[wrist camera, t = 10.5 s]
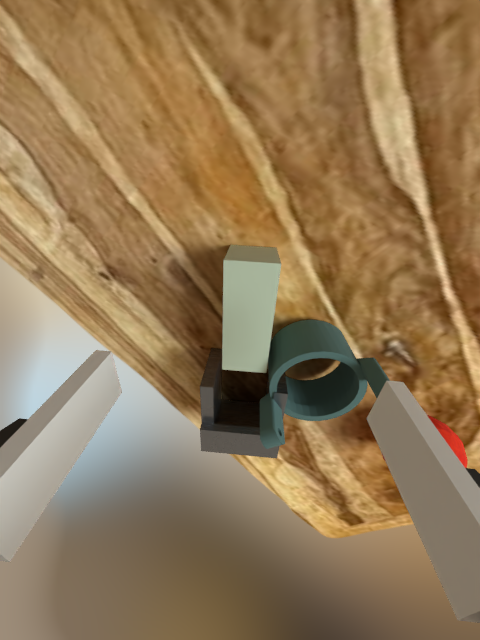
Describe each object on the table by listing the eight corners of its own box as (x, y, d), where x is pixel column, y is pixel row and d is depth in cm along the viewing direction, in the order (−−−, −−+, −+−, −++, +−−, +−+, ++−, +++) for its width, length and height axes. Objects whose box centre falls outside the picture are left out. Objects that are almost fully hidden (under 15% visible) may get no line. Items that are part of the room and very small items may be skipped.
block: (230, 244, 21) (223, 259, 16) (276, 247, 21) (281, 263, 16) (228, 338, 26) (222, 369, 21) (264, 341, 26) (266, 373, 21)
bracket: (255, 372, 27) (254, 448, 19) (288, 304, 22) (304, 368, 15) (327, 393, 28) (353, 474, 20) (372, 332, 23) (429, 407, 16)
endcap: (211, 348, 26) (197, 393, 21) (282, 353, 26) (289, 401, 20) (212, 404, 31) (201, 454, 25) (272, 410, 31) (275, 462, 25)
